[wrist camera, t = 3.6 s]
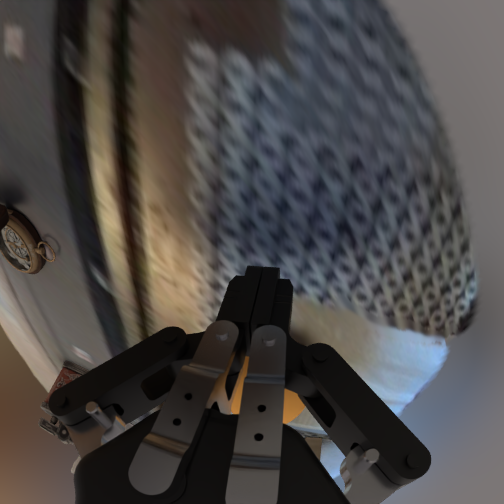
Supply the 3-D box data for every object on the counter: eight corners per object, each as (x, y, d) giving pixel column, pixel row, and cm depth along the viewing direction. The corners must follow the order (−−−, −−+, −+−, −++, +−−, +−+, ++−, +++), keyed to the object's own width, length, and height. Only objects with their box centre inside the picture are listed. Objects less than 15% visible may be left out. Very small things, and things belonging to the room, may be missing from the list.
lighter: (117, 384, 32) (86, 453, 24) (119, 394, 34) (91, 458, 26) (62, 356, 32) (28, 419, 24) (67, 368, 34) (36, 427, 26)
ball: (228, 321, 21) (205, 398, 16) (317, 328, 20) (312, 410, 15) (236, 368, 24) (220, 433, 19) (309, 374, 23) (303, 442, 18)
